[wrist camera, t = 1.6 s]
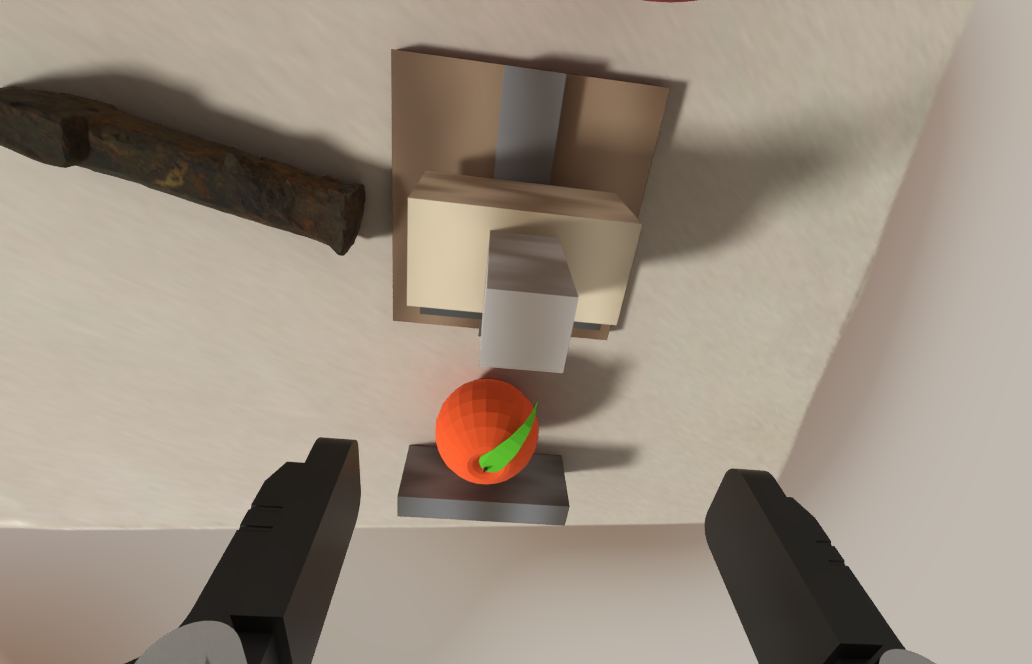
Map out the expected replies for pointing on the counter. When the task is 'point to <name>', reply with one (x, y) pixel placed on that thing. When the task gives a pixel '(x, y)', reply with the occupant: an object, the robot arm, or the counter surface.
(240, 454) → the counter surface
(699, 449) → the counter surface
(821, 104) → the counter surface
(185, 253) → the counter surface
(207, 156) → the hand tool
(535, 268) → the jaw
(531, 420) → the clementine
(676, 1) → the plant pot
